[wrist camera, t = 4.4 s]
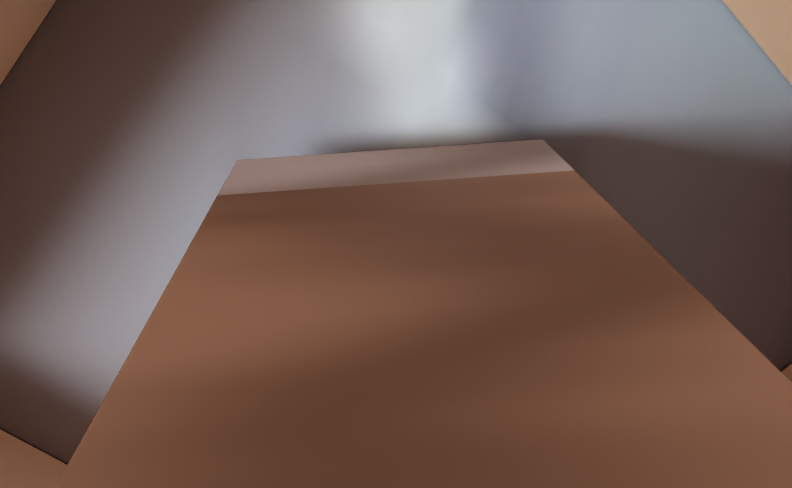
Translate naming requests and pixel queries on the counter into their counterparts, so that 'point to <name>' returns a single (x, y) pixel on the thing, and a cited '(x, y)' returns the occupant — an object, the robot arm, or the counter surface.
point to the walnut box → (433, 341)
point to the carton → (30, 3)
